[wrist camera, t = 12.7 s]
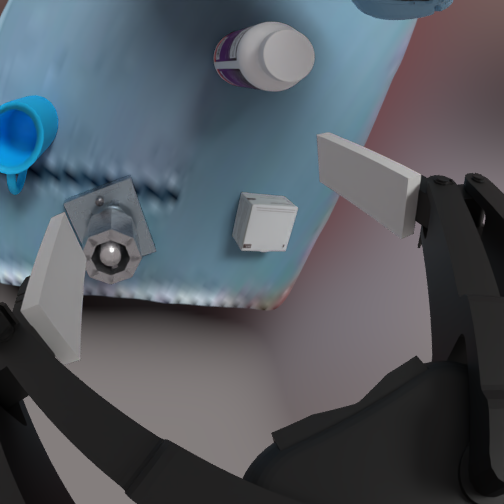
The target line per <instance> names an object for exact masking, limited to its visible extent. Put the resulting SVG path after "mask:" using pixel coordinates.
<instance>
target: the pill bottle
mask: <svg viewBox="0 0 504 504" xmlns="http://www.w3.org/2000/svg"><path fill="white" fill-rule="evenodd" d="M314 59H315V54H314V49H313V46H312V44H311V43H310V41H309V40H308V39H307V37H306V36H304V35H303V34H302V33H300V32H298V31H296V30H295V29H294V28H292V27H291V26H289V25H287V24H284V23H280V22H264V23H260V24H257V25H254V26H251V27H248V28H244V29H241V30H238V31H235V32H232V33H230V34H228V35H226V36H225V37H224V38H222V39H221V40H220V42H219V43H218V44H217V46H216V48H215V51H214V57H213V60H214V66H215V69H216V71H217V73H218V74H219V76H220V77H221V78H222V79H223V80H225V81H226V82H228V83H229V84H232V85H235V86H239V87H247V88H253V89H259V90H265V91H273V92H276V91H283V90H286V89H288V88H290V87H292V86H294V85H295V84H297V83H298V82H299V81H300V80H301V79H303V78H304V77H306V76H307V75H308V74H309V72H310V71H311V69H312V67H313V65H314Z"/></svg>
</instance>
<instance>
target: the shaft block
mask: <svg viewBox="0 0 504 504" xmlns="http://www.w3.org/2000/svg"><path fill="white" fill-rule="evenodd" d="M64 206H65V208H66V211H67V213H68V215H69V218H70V220H71V222H72V224H73V226H74V229H75V231H76V233H77V235H78V237H79V239H80V242H81V244H82V242H83V236H84V233H85V230H86V228H87V226H88V223H89V221H90V219H91V216H93V215H96V214H98V213H101V212H104V211H106V210H109V209H114V210H117V211H119V212H122V213H124V214H126V215H129V216H131V217H132V219H133V222H134V225H135V227H136V230H137V233H138V235H139V242H140V250H141V257H142V256H144V255H147V254H150V253H153V252H156V248H155V244H154V242H153V239H152V236H151V233H150V231H149V228H148V225H147V222H146V220H145V217H144V214H143V211H142V208H141V205H140V202H139V199H138V196H137V193H136V190H135V187H134V184H133V181H132V178H131V175H128V176H126V177H123V178H120V179H117V180H114V181H112V182H109V183H106V184H104V185H101V186H98V187H96V188H93V189H91V190H88V191H86V192H83V193H81V194H78V195H76V196H73V197H71V198H68V199H66V200H65V202H64ZM98 246H100V247H101V250H100V259H101V262H102V263H103V264H105V265H107V266H112V269H114V268H117V267H118V263H119V261H120V259H121V249H120V247H122V246H123V245H122V244H120V243H117V242H114V241H112V240H110V241H107V242H104V243H102V244H99V245H98Z"/></svg>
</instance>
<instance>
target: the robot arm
mask: <svg viewBox="0 0 504 504" xmlns="http://www.w3.org/2000/svg"><path fill="white" fill-rule="evenodd" d="M352 2H353V3H354V4H355V5H356V7H357V8H358V9H359V10H360V11H362V12H363V13H365V14H367V15H370V16H372V17H375V18H379V19H385V20H405V19H414V18H421V17H425V16H429V15H432V14H434V11H442V10H444V9H446V8H448V7H449V6H450V5H451V3H452V2H453V0H352ZM317 146H318V161H319V178H320V182H321V183H323V184H324V185H326V186H327V187H329V188H330V189H332V190H333V191H335V192H336V193H338V194H339V195H341V196H342V197H344V198H345V199H347V200H348V201H349V202H351V203H352V204H354V205H355V206H357V207H358V208H359V209H361V210H362V211H364V212H365V213H367V214H368V215H369V216H371V217H372V218H374V219H375V220H376V221H378V222H379V223H381V224H382V225H383V226H384V227H386V228H387V229H388V230H390V231H391V232H392V233H394V234H395V235H397V236H398V237H399V238H401V239H403V238H405V237H407V236H410V235H412V234H414V228H415V221H417V222H418V223H420V224H421V225H422V226H421V232H420V238H419V243H418V248H420V246H421V245H422V247H423V253H424V260H425V267H426V276H427V284H428V294H429V304H430V317H431V333H432V362H429V363H424V364H423V363H422V361H421V360H420V359H419V358H418V357H417V356H415V357H414V358H412V359H410V360H409V361H408V362H406V363H404V364H403V365H401V366H400V367H398V368H396V369H395V370H393V371H392V372H390V373H388V374H387V375H386V376H385V377H384V378H383V379H382V380H381V381H380V382H379V383H378V384H377V385H376V386H375V387H374V388H373V389H372V390H371V391H370V392H369V393H368V394H367V395H366V396H365V397H364V398H363V399H362V400H361V401H360V402H358V403H356V404H354V405H350V406H346V407H343V408H338V409H335V410H330V411H326V412H322V413H318V414H313V415H311V416H308V417H306V418H304V419H302V420H300V421H298V422H295V423H293V424H291V425H289V426H287V427H284V428H282V429H280V430H277V431H275V432H272V433H271V434H272V437H273V440H274V443H273V444H271V445H270V446H269V447H267V448H266V449H265V450H264V451H263V452H262V453H261V454H259V455H258V456H257V458H256V459H255V460H254V461H253V463H252V464H251V465H250V466H249V468H248V470H247V471H246V473H245V475H244V477H243V479H242V478H239V477H237V476H235V475H233V474H231V473H229V472H227V471H225V470H223V469H220V468H219V467H217V466H215V465H213V464H211V463H209V462H207V461H205V460H203V459H201V458H200V457H198V456H196V455H194V454H192V453H191V452H189V451H187V450H185V449H184V448H182V447H180V446H178V445H177V444H175V443H173V442H171V441H169V440H166V439H165V440H163V439H161V438H159V437H158V436H156V435H155V434H153V433H152V432H150V431H148V430H147V429H145V428H144V427H142V426H141V425H140V424H138V423H137V422H135V421H134V420H132V419H131V418H129V417H128V416H126V415H125V414H124V413H122V412H121V411H120V410H118V409H117V408H116V407H114V406H113V405H112V404H110V403H109V402H107V401H106V400H105V399H104V398H102V397H101V396H99V395H98V394H97V393H96V392H95V391H93V390H92V389H91V388H89V387H88V386H87V385H86V384H85V383H84V382H82V381H81V380H80V379H79V378H78V377H76V376H75V375H74V374H73V373H72V372H71V371H70V370H68V369H67V368H66V367H65V366H64V365H66V364H69V363H72V362H75V361H79V360H81V355H80V354H81V320H82V319H81V318H82V301H83V289H84V278H85V268H86V259H87V258H86V256H85V254H84V252H83V250H82V248H81V246H80V244H79V242H78V240H77V238H76V236H75V234H74V231H73V229H72V227H71V225H70V223H69V221H68V218H67V216H66V214H65V212H63V213H61V214H59V215H56V216H54V217H52V218H51V220H50V222H49V225H48V227H47V230H46V232H45V235H44V238H43V240H42V243H41V246H40V249H39V252H38V254H37V257H36V260H35V263H34V266H33V269H32V272H31V276H29V277H26V279H25V280H24V281H23V283H22V284H21V286H20V288H19V292H18V297H17V298H16V302H15V303H16V304H15V305H14V308H13V312H11V310H10V309H9V307H8V306H7V304H6V303H3V302H1V303H0V504H75V502H74V501H73V499H72V498H71V496H70V494H69V493H68V491H67V490H66V488H65V486H64V484H63V483H62V481H61V479H60V477H59V476H58V474H57V472H56V470H55V468H54V466H53V465H52V463H51V461H50V459H49V457H48V455H47V453H46V451H45V449H44V447H43V445H42V443H41V441H40V439H39V436H38V434H37V433H36V430H35V428H34V425H33V423H32V421H31V418H30V416H29V414H28V411H27V409H26V406H25V404H24V401H23V399H24V398H25V397H27V396H28V395H29V396H30V397H31V398H32V399H33V401H34V402H35V403H36V404H37V405H38V407H39V408H40V409H41V410H42V411H43V412H44V413H45V415H46V416H47V417H48V418H49V419H50V420H51V421H52V422H53V424H54V425H55V426H56V427H57V428H58V429H59V430H60V431H61V432H62V433H63V434H64V435H65V436H66V437H67V438H68V439H69V440H70V441H71V442H72V443H73V444H74V445H75V446H76V447H77V448H78V449H79V450H80V451H81V452H82V453H83V454H84V455H85V456H86V457H87V458H88V459H89V460H91V461H92V462H93V463H94V464H95V465H96V466H97V467H98V468H99V469H101V470H102V471H103V472H104V473H105V474H106V475H108V476H109V477H110V478H111V479H112V480H114V481H115V482H116V483H117V484H118V485H120V486H121V487H122V488H123V489H124V490H125V494H127V496H128V497H129V498H130V499H132V500H133V501H134V502H135V503H137V504H504V194H503V193H502V192H501V191H500V190H499V189H498V188H497V187H496V186H495V185H494V184H493V183H492V182H491V181H490V180H489V179H487V178H486V177H484V176H482V175H481V174H477V173H475V174H473V173H469V174H467V175H465V181H464V184H461V185H457V184H456V183H455V182H454V181H453V180H452V179H450V178H447V177H445V176H439V175H434V176H430V177H429V178H426V177H424V176H423V175H421V174H419V173H417V172H415V171H413V170H411V169H409V168H407V167H405V166H403V165H401V164H399V163H397V162H395V161H393V160H391V159H389V158H387V157H385V156H382V155H380V154H378V153H376V152H374V151H372V150H369V149H367V148H365V147H363V146H360V145H358V144H356V143H353V142H351V141H349V140H346V139H344V138H341V137H339V136H337V135H334V134H332V133H329V132H328V133H323V134H318V135H317ZM484 214H485V217H486V219H485V224H483V218H484ZM55 356H56V357H57V358H58V359H59V361H60V362H61V363H60V362H59V361H58V360H57V359H56V358H55Z"/></svg>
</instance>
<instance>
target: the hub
mask: <svg viewBox="0 0 504 504" xmlns="http://www.w3.org/2000/svg"><path fill="white" fill-rule="evenodd" d="M110 240H112V241H114V242H117V243H120V244H122V245H123V246H122V247H120V249H121V259H120V261H119V263H118V267H117V268H114V269H112V266H107V265H105V264H103V263H102V262H101V259H100V250H101V247H100V246H98V245H99V244H102V243H104V242H107V241H110ZM82 250H83V252H84V254H85V256H86V258H87V259H86V268H85V269H86V271H87V273H88V275H89V276H90V277H91V278H94V279H96V280H99V281H102V282H105V283H108V284H114V283H117V282H120V281H122V280H125V279H128V278H131V277H132V276H133V274H134V272H135V270H136V268H137V267H138V265H139V263H140V261H141V259H142V257H141V250H140V242H139V235H138V233H137V230H136V227H135V225H134V222H133V219H132V217H131V216H129V215H126V214H124V213H122V212H119V211H117V210H114V209H109V210H106V211H104V212H101V213H98V214H96V215H93V216H91V219H90V221H89V223H88V226H87V228H86V230H85V233H84V236H83V242H82Z"/></svg>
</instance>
